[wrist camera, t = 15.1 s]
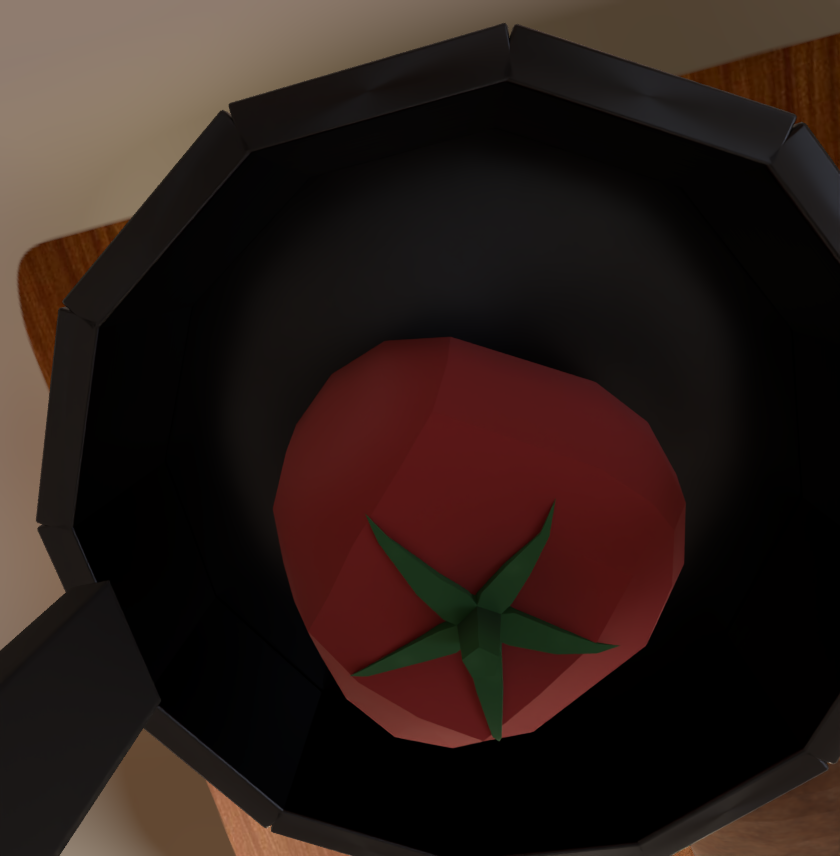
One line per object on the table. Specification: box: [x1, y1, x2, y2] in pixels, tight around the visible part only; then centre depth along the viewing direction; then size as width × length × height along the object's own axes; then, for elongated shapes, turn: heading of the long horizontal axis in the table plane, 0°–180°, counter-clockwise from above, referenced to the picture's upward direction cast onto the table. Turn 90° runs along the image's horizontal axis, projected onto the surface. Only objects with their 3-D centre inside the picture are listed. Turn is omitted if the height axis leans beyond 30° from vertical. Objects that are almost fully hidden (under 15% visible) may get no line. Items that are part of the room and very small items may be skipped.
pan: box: [36, 23, 840, 856], centre depth 27 cm, size 18×29×33 cm, turn 103°
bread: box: [690, 759, 840, 856], centre depth 44 cm, size 18×30×16 cm, turn 28°
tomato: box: [273, 337, 686, 748], centre depth 12 cm, size 8×8×7 cm
